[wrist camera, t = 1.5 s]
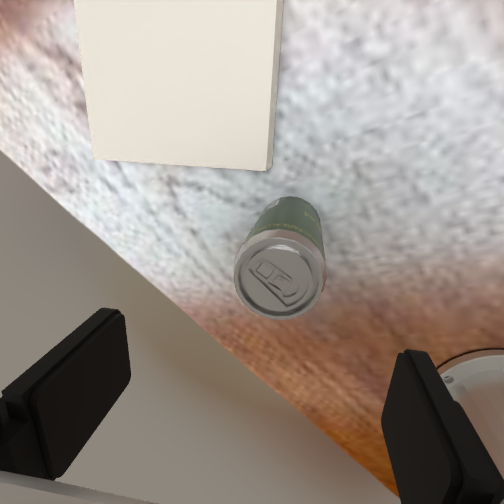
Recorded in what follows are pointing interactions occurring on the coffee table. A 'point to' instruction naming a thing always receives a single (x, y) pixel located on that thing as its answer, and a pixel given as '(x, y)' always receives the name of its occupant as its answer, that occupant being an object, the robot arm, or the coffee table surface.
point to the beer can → (282, 261)
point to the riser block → (181, 80)
